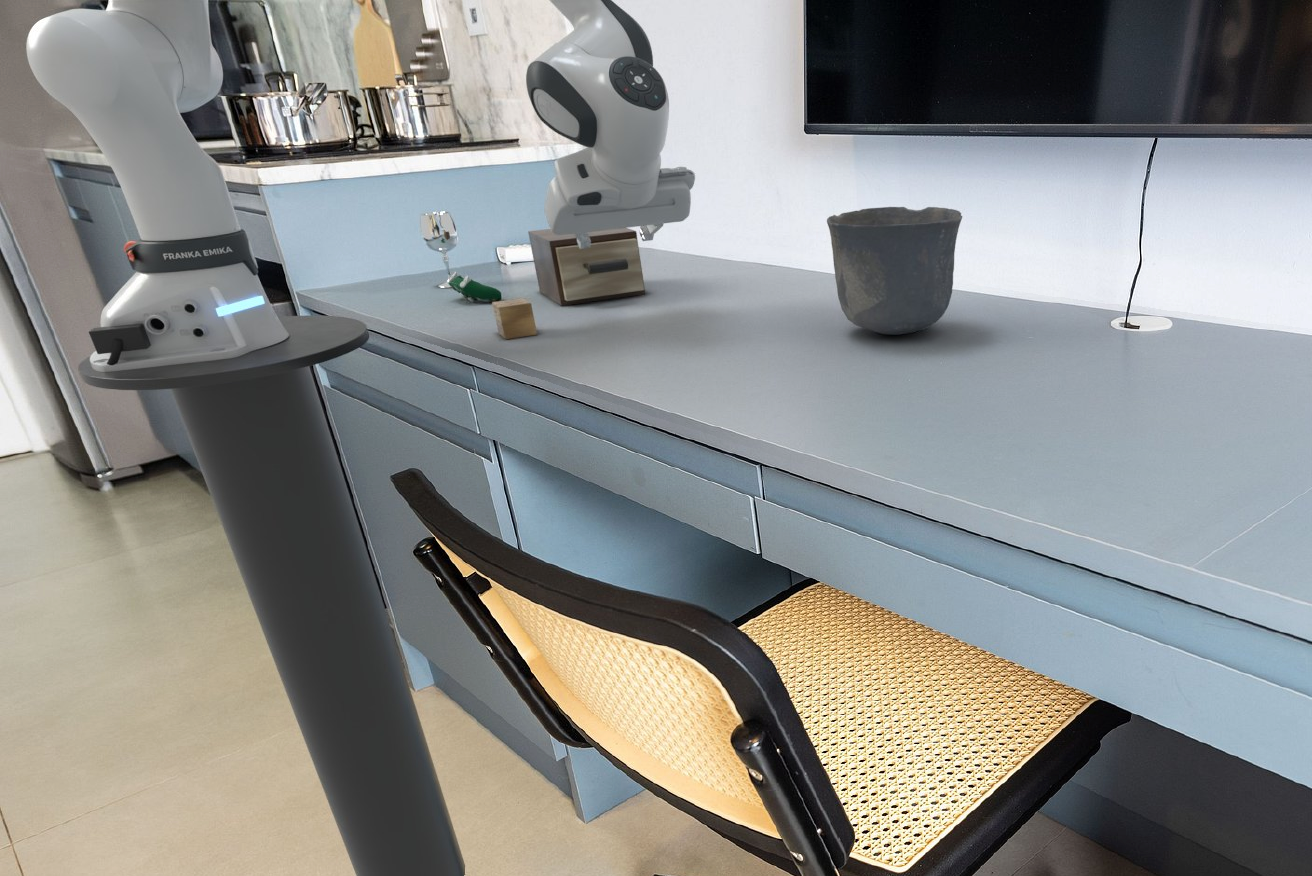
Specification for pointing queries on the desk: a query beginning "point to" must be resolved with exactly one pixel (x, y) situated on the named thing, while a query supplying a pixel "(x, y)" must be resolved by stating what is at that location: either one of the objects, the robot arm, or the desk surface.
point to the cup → (894, 266)
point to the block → (514, 318)
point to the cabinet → (549, 268)
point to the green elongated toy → (473, 289)
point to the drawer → (600, 269)
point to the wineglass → (439, 235)
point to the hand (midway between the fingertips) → (615, 240)
